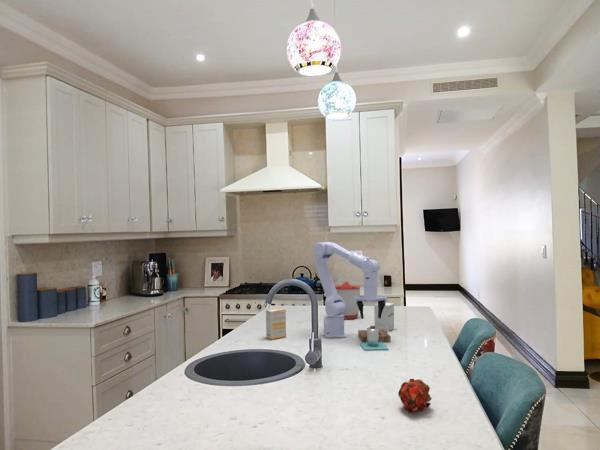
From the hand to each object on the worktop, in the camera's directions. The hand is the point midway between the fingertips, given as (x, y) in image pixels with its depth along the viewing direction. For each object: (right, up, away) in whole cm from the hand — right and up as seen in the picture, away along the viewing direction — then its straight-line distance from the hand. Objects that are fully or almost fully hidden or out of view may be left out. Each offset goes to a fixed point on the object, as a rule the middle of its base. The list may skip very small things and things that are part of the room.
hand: (370, 318), depth 188 cm
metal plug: (0, -10, -8) cm, 12 cm away
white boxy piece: (+10, -11, +22) cm, 27 cm away
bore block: (+2, -10, +5) cm, 12 cm away
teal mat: (0, -10, -8) cm, 13 cm away
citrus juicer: (-6, -11, +50) cm, 52 cm away
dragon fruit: (+1, -10, -69) cm, 70 cm away
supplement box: (-42, -11, +9) cm, 44 cm away
